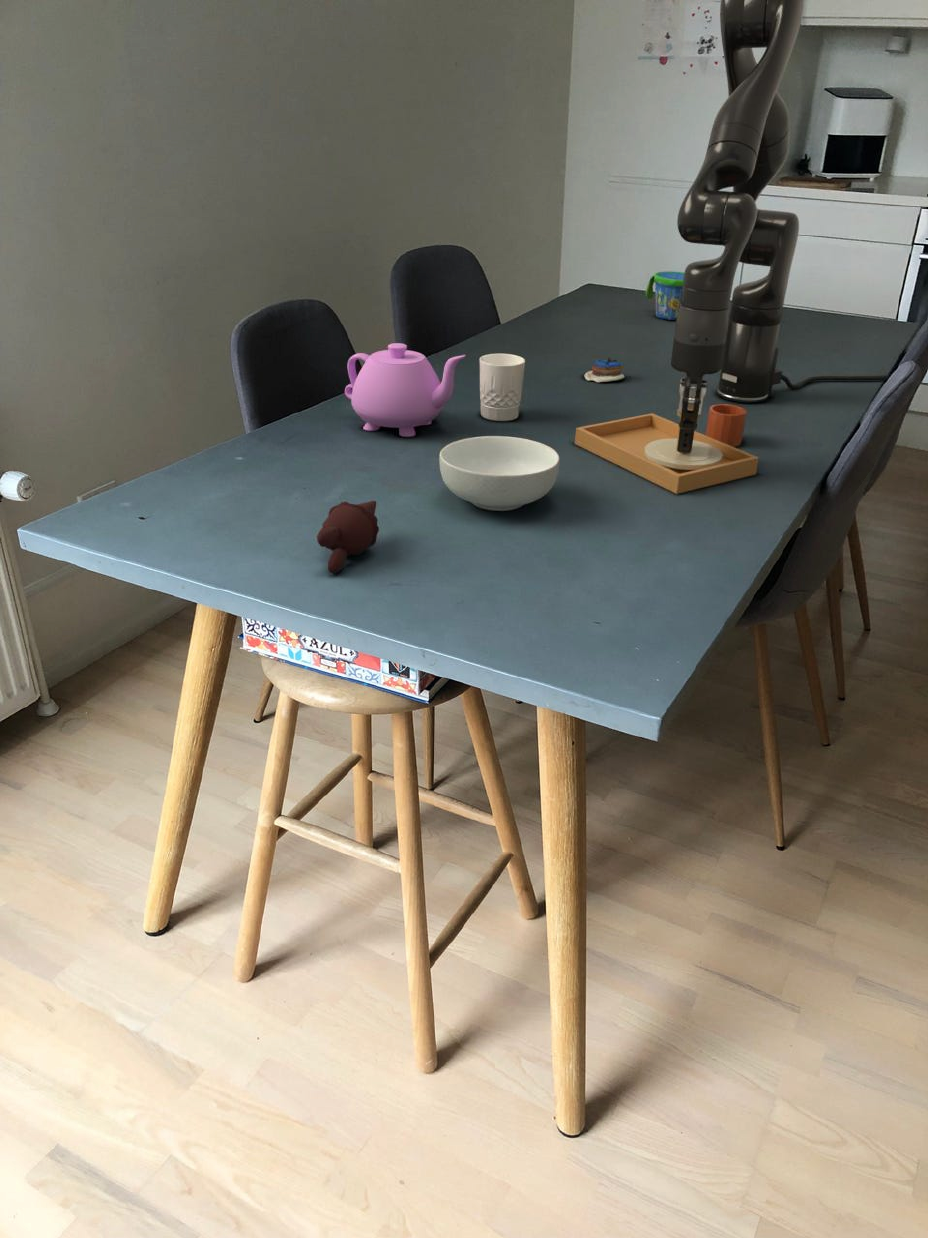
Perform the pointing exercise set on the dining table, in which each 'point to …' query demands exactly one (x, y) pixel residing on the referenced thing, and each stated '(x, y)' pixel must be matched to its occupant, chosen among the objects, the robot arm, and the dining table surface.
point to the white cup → (501, 386)
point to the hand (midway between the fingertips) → (684, 448)
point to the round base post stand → (670, 457)
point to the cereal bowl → (499, 471)
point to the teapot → (398, 389)
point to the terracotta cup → (726, 423)
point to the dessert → (605, 371)
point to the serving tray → (627, 450)
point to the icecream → (348, 531)
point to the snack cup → (666, 293)
